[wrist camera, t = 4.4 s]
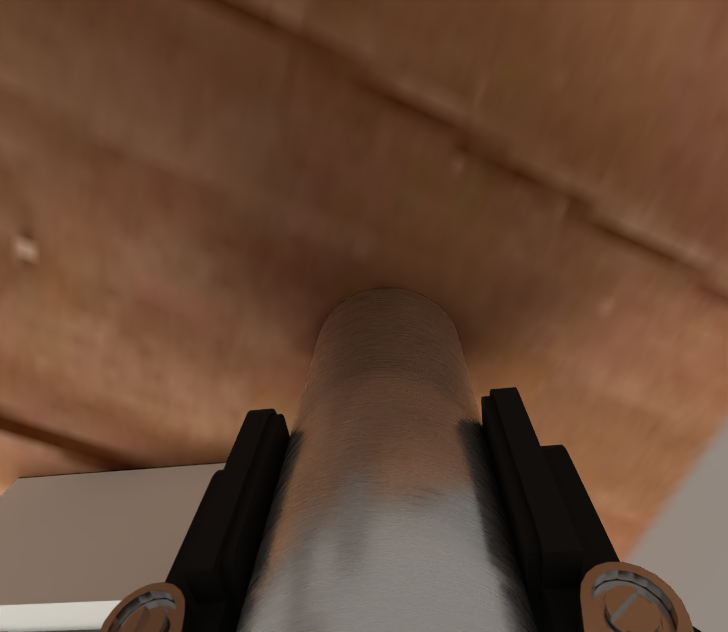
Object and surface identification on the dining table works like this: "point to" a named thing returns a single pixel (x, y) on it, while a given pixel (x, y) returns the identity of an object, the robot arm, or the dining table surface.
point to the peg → (387, 488)
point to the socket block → (90, 542)
